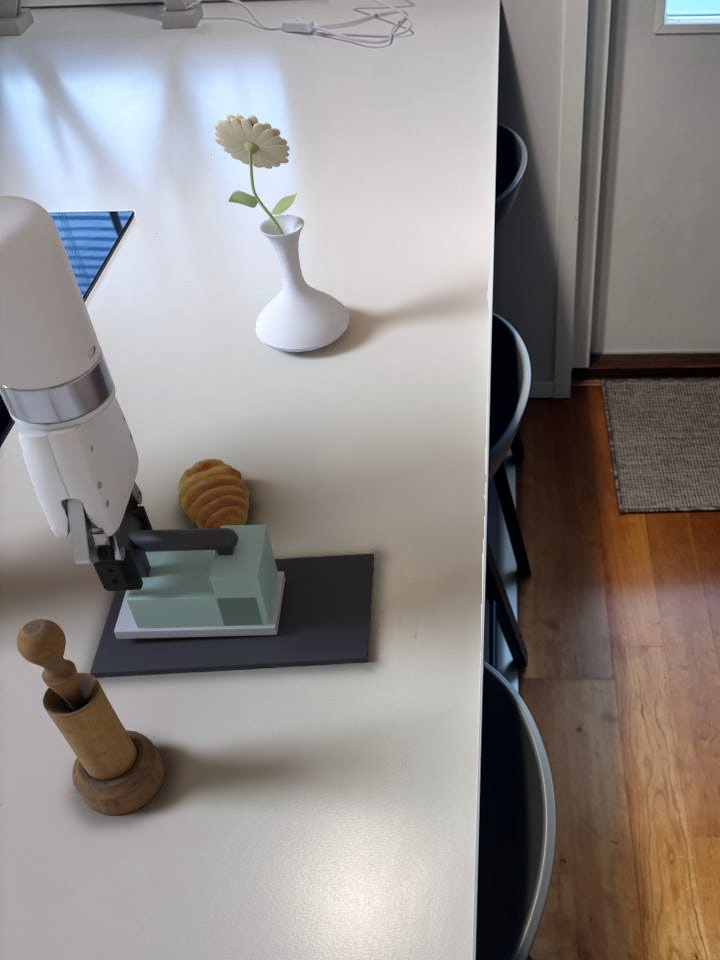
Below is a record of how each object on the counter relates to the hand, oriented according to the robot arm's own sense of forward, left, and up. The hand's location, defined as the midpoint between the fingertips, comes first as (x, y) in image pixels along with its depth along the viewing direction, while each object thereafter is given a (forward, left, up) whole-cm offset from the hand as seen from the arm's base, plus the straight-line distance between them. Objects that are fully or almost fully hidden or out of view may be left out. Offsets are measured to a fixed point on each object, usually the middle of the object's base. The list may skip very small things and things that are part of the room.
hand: (130, 563), depth 84 cm
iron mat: (+8, 0, -7) cm, 10 cm away
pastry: (+4, +15, -7) cm, 17 cm away
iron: (+5, 0, -6) cm, 8 cm away
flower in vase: (+9, +47, -7) cm, 48 cm away
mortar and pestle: (+1, -17, -7) cm, 19 cm away
